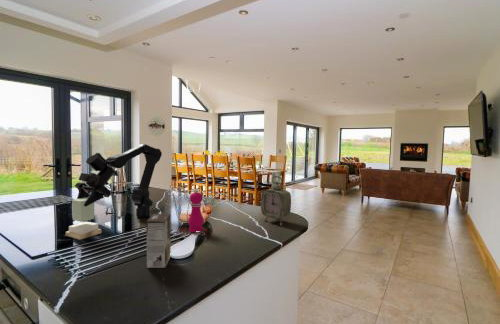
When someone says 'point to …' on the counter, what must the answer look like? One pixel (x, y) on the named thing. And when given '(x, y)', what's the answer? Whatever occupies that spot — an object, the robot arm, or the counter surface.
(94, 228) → the top block
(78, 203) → the sage block
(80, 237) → the bottom block
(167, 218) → the coffee box
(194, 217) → the pepper mill
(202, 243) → the counter surface
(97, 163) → the robot arm
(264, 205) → the tabletop clock
